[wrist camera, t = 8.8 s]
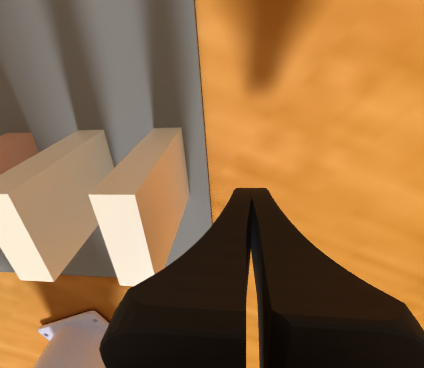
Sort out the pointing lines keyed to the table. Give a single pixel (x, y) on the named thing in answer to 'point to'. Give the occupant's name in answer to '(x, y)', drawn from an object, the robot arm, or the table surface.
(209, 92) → the table surface
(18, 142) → the domino
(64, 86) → the felt mat
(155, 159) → the domino
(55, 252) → the domino
